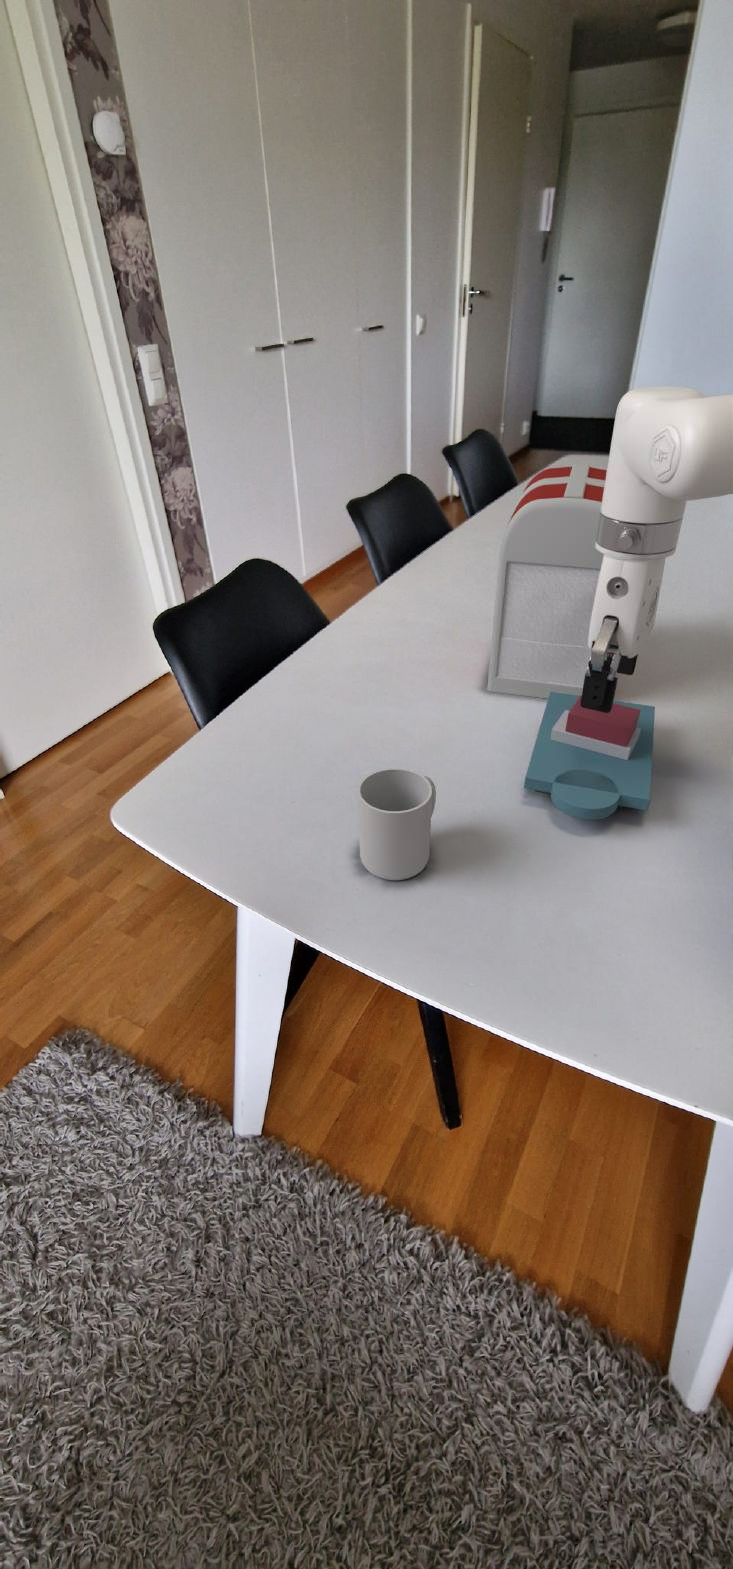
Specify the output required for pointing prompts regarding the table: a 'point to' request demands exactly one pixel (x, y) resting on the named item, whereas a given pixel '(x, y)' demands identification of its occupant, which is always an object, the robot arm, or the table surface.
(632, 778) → the board
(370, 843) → the cup
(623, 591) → the robot arm
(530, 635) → the red-striped rounded block
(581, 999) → the table surface
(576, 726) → the maroon block on base
